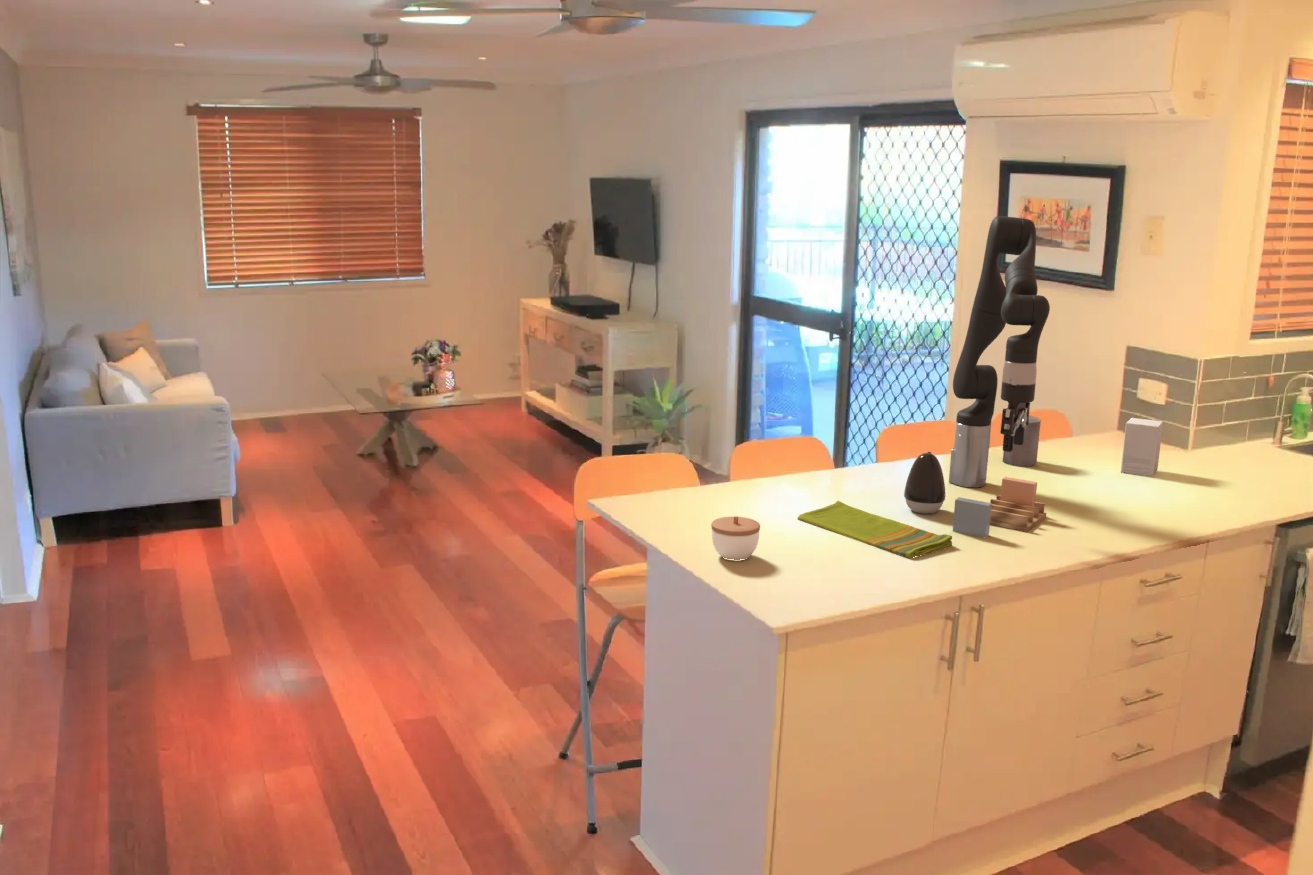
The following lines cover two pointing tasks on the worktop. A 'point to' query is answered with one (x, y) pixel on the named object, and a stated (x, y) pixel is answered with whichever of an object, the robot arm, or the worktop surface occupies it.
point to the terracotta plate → (1018, 491)
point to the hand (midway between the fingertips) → (1012, 447)
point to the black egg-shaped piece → (925, 485)
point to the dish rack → (1016, 514)
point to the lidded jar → (735, 536)
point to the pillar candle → (1025, 446)
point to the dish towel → (876, 530)
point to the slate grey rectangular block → (972, 517)
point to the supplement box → (1141, 446)
